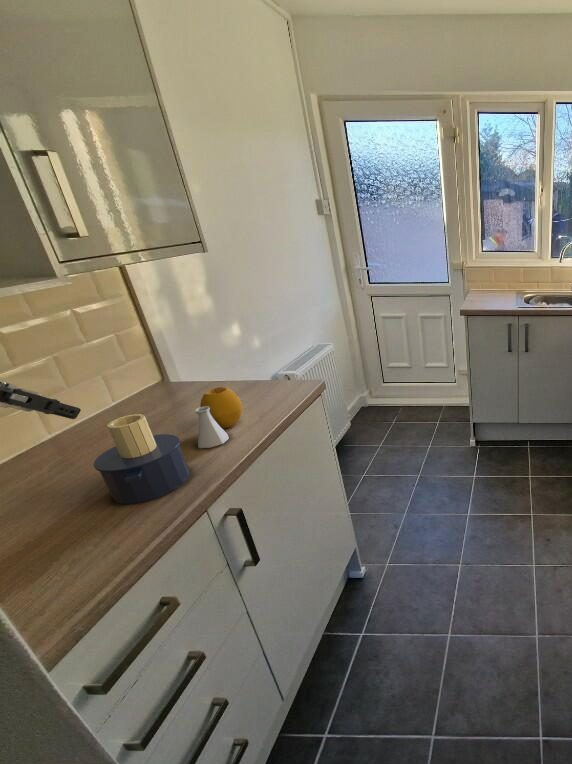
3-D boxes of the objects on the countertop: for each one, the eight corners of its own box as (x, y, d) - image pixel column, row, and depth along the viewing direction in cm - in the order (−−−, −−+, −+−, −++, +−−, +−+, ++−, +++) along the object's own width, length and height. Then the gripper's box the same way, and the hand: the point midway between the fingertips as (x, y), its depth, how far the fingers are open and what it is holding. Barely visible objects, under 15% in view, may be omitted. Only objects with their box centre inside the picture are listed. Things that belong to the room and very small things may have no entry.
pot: (102, 520, 84) (85, 485, 80) (123, 473, 99) (109, 442, 95) (185, 497, 90) (172, 464, 87) (193, 456, 105) (181, 426, 102)
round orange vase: (215, 419, 123) (202, 383, 118) (251, 415, 125) (240, 379, 121) (201, 435, 114) (188, 397, 110) (241, 430, 117) (229, 393, 112)
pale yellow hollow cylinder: (118, 461, 87) (103, 430, 84) (124, 448, 92) (111, 418, 89) (154, 453, 90) (141, 422, 87) (158, 440, 95) (146, 411, 92)
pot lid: (86, 483, 82) (73, 457, 80) (105, 449, 94) (93, 426, 91) (177, 460, 89) (167, 436, 86) (184, 432, 100) (175, 409, 98)
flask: (194, 451, 107) (181, 417, 103) (201, 438, 113) (189, 405, 109) (226, 445, 109) (215, 412, 105) (232, 432, 116) (221, 400, 112)
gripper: (-22, 359, 63) (98, 397, 77) (-72, 351, 67) (51, 388, 82) (-55, 405, 60) (75, 435, 75) (-105, 393, 65) (28, 424, 79)
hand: (63, 410), depth 78 cm, fingers open, 8 cm apart
